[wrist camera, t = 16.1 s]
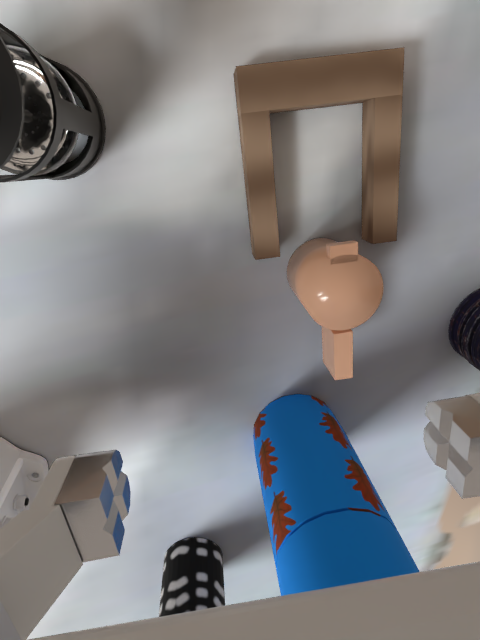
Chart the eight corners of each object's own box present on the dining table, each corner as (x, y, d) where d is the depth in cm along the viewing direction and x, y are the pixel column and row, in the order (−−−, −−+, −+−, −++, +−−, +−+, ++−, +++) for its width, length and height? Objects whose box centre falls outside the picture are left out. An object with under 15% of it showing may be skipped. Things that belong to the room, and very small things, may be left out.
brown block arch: (384, 235, 40) (396, 240, 38) (252, 253, 40) (255, 259, 37) (389, 56, 34) (404, 47, 32) (233, 74, 34) (236, 66, 31)
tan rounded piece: (283, 233, 39) (302, 249, 32) (350, 225, 40) (384, 238, 32) (292, 350, 44) (310, 386, 37) (351, 341, 45) (380, 376, 37)
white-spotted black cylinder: (173, 533, 53) (158, 727, 35) (229, 542, 55) (244, 732, 37) (157, 573, 56) (136, 774, 38) (212, 581, 58) (217, 776, 39)
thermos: (352, 414, 49) (488, 640, 26) (304, 473, 52) (387, 724, 28) (282, 378, 46) (365, 596, 23) (235, 443, 49) (266, 694, 26)
